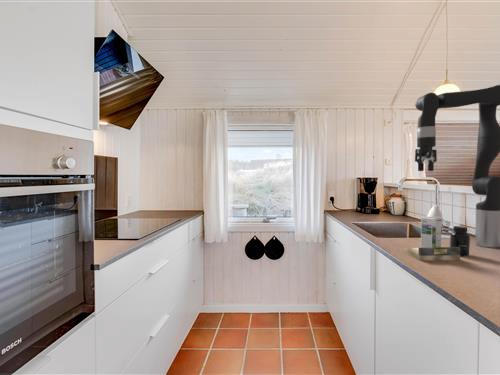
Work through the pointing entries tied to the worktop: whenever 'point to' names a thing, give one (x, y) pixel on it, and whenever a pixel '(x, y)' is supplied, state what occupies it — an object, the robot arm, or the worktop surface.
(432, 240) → the syrup box
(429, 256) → the price shelf
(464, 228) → the supplement bottle
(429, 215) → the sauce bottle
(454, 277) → the worktop surface
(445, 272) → the worktop surface
